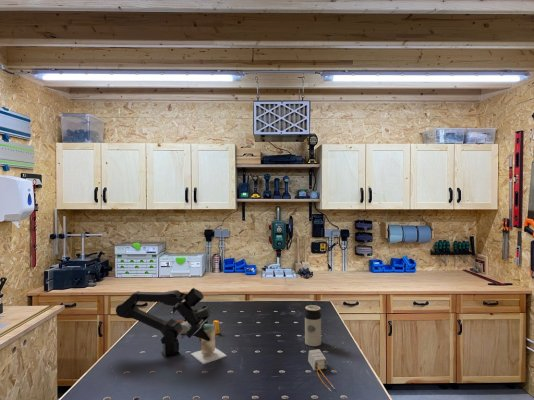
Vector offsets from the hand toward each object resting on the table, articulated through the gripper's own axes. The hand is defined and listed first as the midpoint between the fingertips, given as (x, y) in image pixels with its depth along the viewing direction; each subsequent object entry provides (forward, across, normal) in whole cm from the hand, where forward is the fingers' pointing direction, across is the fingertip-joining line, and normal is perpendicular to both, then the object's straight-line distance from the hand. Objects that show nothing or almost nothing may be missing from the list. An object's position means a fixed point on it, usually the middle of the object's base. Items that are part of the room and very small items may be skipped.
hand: (211, 338), depth 159 cm
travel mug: (+39, +18, -28) cm, 51 cm away
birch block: (+4, 0, +6) cm, 7 cm away
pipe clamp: (+1, +22, +11) cm, 24 cm away
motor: (-16, +29, +29) cm, 44 cm away
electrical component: (+42, -12, -30) cm, 53 cm away
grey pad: (+5, 0, +7) cm, 8 cm away
